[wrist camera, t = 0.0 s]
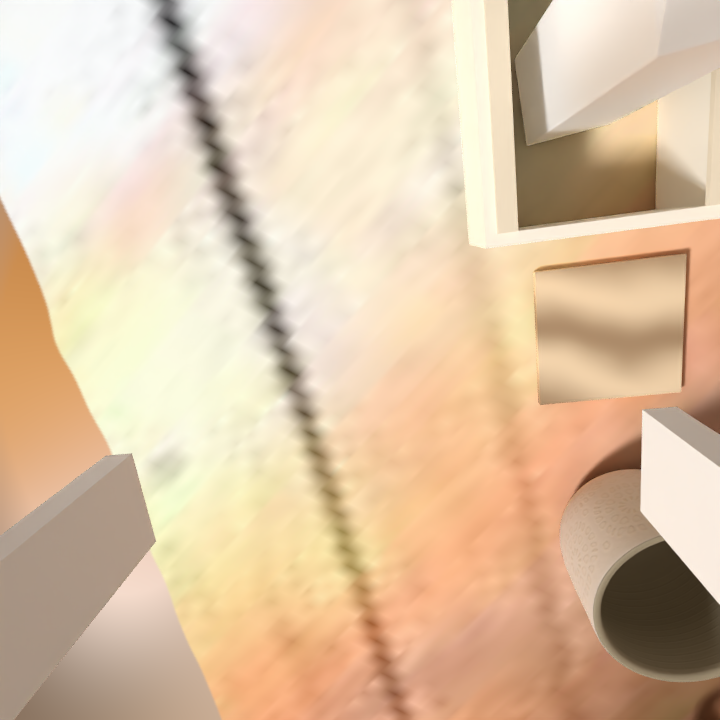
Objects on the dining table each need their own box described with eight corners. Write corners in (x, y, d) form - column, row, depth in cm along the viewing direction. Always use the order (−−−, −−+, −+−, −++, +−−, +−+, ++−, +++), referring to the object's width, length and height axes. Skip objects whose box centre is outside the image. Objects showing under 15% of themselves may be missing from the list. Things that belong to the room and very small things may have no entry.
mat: (533, 271, 37) (535, 272, 37) (682, 253, 36) (686, 253, 36) (538, 402, 40) (540, 404, 40) (676, 389, 39) (681, 392, 38)
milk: (513, 59, 34) (694, -234, 13) (601, 33, 33) (956, -330, 12) (526, 148, 35) (709, 19, 14) (611, 126, 34) (945, -48, 13)
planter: (620, 424, 40) (697, 493, 30) (724, 510, 41) (833, 605, 31) (517, 521, 43) (553, 614, 33) (616, 598, 45) (682, 711, 34)
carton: (447, -48, 32) (462, -140, 24) (675, -94, 31) (772, -210, 23) (469, 244, 37) (487, 248, 29) (666, 218, 36) (743, 215, 28)
